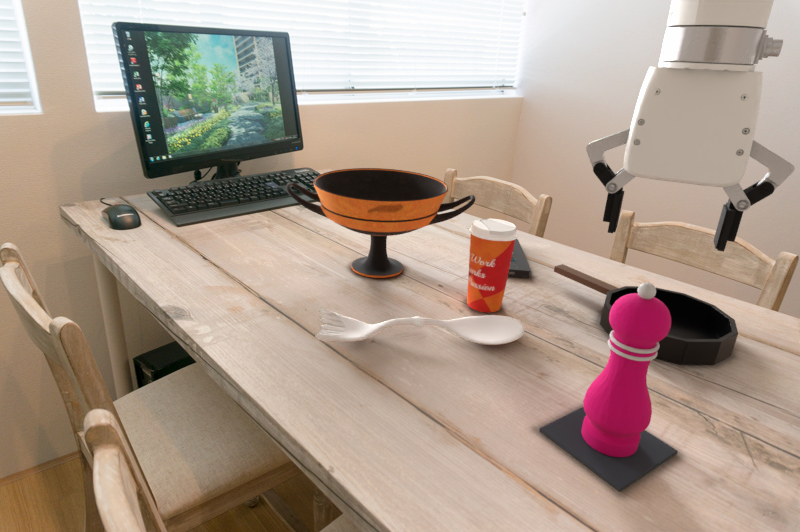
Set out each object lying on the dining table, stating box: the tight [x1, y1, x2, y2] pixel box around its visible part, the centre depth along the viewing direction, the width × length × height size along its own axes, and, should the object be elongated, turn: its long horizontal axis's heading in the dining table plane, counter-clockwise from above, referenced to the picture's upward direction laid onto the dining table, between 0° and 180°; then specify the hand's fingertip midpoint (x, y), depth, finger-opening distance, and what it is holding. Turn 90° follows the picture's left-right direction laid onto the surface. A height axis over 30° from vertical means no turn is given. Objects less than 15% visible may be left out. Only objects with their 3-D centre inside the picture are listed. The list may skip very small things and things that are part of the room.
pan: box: [553, 263, 739, 366], centre depth 92 cm, size 33×20×4 cm, turn 34°
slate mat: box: [539, 406, 679, 492], centre depth 62 cm, size 11×11×1 cm
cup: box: [286, 167, 476, 279], centre depth 104 cm, size 36×26×18 cm
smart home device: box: [508, 238, 531, 279], centre depth 116 cm, size 8×2×20 cm
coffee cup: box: [466, 217, 519, 314], centre depth 91 cm, size 8×8×15 cm
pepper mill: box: [581, 282, 671, 457], centre depth 58 cm, size 7×7×20 cm
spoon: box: [314, 307, 525, 346], centre depth 81 cm, size 9×32×4 cm, turn 96°
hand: (663, 237), depth 52 cm, fingers open, 9 cm apart
